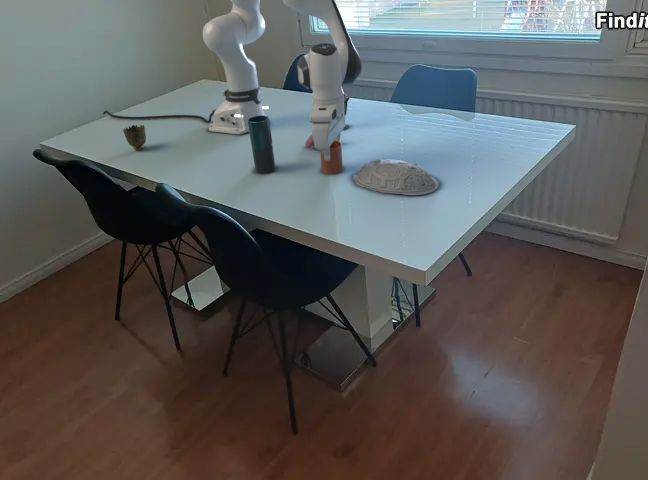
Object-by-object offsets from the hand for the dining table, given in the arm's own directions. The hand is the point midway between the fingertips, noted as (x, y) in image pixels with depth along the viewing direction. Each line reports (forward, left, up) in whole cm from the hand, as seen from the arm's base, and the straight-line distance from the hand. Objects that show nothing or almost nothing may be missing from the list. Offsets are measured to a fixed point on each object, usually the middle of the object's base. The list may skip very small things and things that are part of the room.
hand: (332, 153), depth 161 cm
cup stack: (-21, -2, -5) cm, 22 cm away
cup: (0, 0, -5) cm, 5 cm away
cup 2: (-75, +10, -6) cm, 76 cm away
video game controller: (-9, +18, -6) cm, 21 cm away
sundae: (-7, +36, -6) cm, 37 cm away
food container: (+20, -6, -6) cm, 21 cm away
